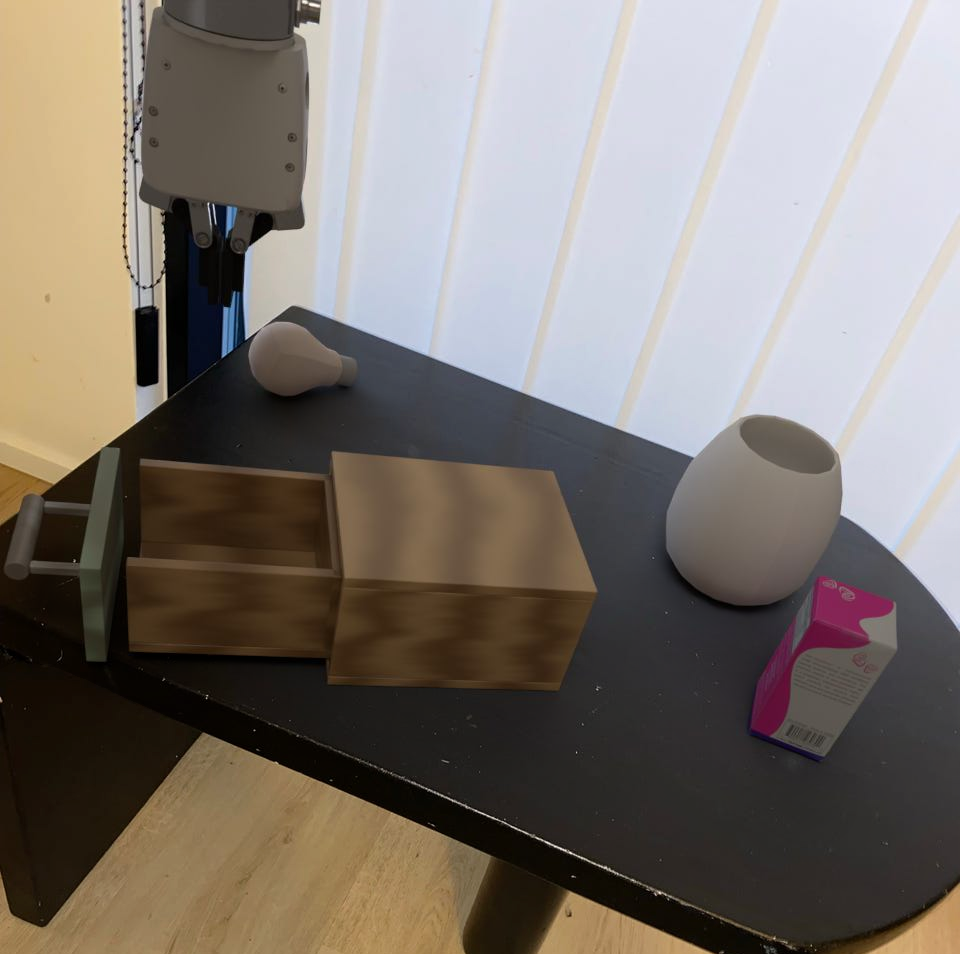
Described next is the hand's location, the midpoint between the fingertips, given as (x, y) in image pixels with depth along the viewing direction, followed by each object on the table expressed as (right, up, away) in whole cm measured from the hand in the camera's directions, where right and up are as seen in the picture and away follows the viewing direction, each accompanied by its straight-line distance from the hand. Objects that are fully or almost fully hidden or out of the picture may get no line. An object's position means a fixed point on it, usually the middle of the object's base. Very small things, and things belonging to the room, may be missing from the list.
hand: (221, 297), depth 70 cm
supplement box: (+41, -31, +4) cm, 52 cm away
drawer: (-2, -22, -2) cm, 22 cm away
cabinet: (+15, -23, +3) cm, 28 cm away
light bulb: (+2, -1, +23) cm, 23 cm away
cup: (+40, -19, +16) cm, 47 cm away
